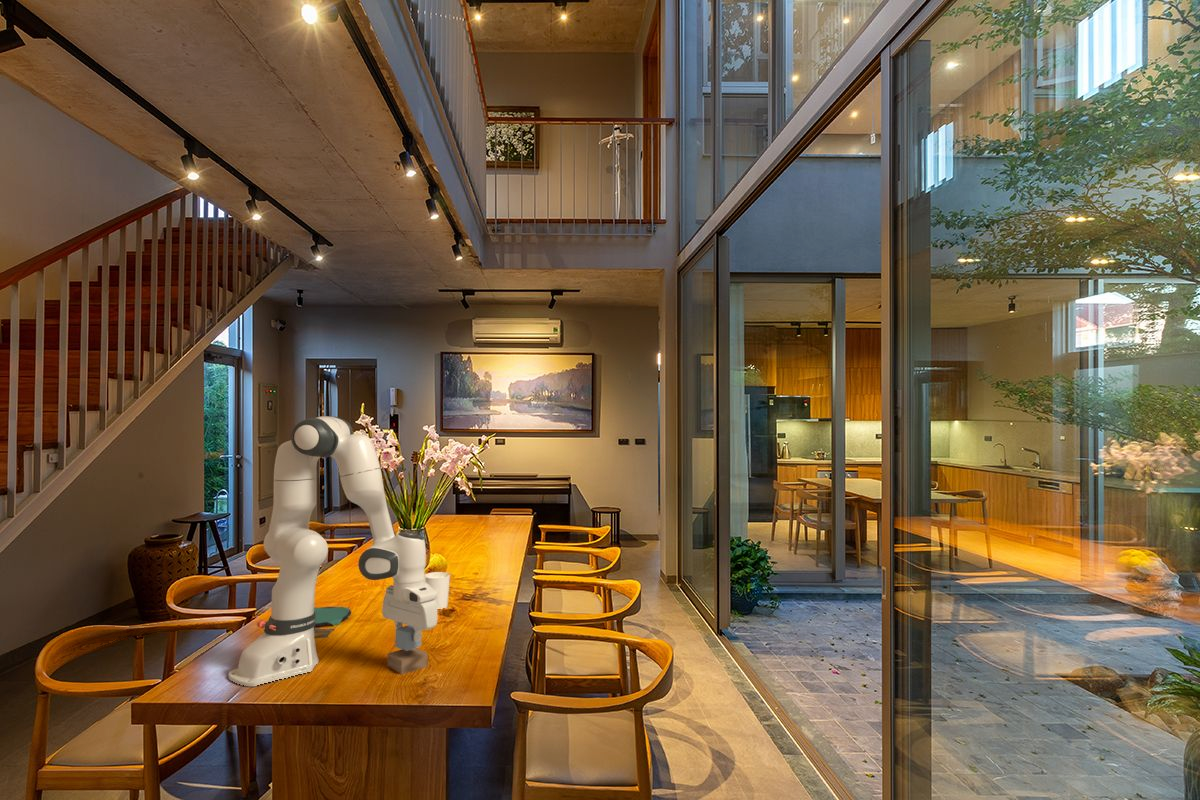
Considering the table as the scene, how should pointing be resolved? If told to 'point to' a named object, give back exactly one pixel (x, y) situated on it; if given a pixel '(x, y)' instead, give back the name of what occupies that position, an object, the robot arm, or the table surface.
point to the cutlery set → (329, 617)
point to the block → (406, 638)
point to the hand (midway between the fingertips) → (408, 638)
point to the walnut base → (407, 660)
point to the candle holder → (439, 587)
